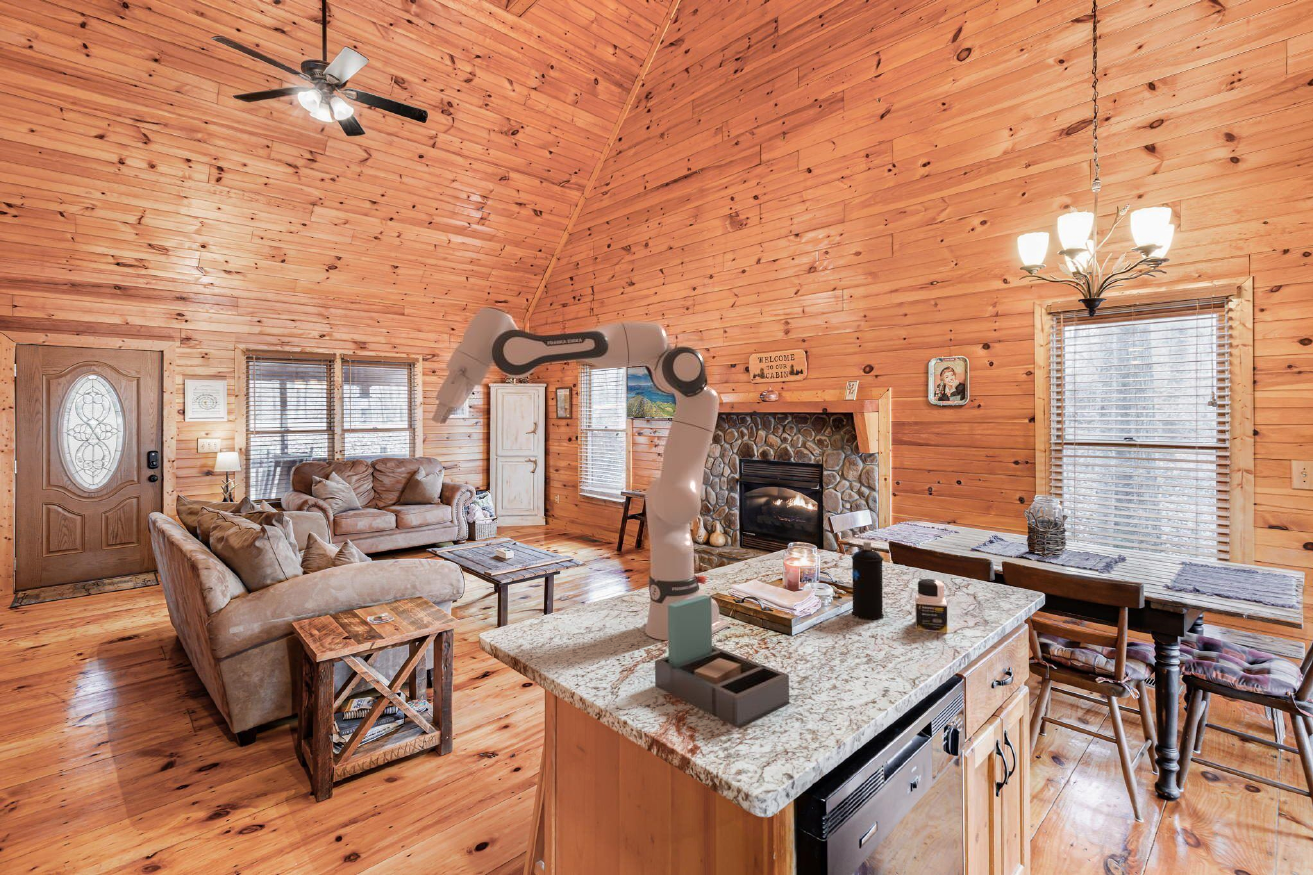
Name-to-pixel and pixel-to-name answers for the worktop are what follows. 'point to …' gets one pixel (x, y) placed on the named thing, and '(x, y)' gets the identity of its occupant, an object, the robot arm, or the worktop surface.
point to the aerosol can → (867, 584)
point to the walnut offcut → (718, 671)
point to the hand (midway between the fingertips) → (438, 422)
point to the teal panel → (689, 629)
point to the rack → (726, 688)
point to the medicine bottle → (931, 606)
